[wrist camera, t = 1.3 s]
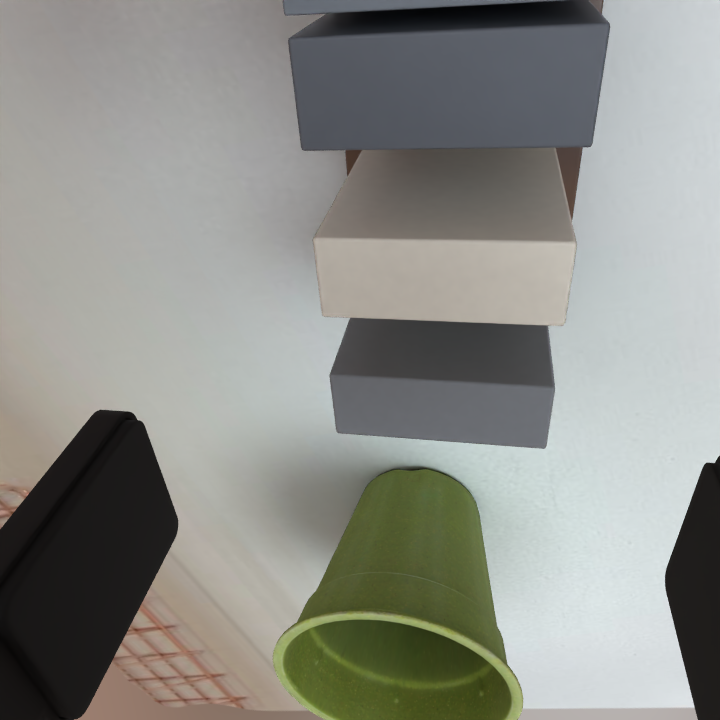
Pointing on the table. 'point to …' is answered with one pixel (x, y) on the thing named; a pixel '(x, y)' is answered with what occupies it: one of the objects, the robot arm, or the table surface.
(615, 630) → the table surface
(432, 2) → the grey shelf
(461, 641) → the plant pot
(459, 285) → the beige box
